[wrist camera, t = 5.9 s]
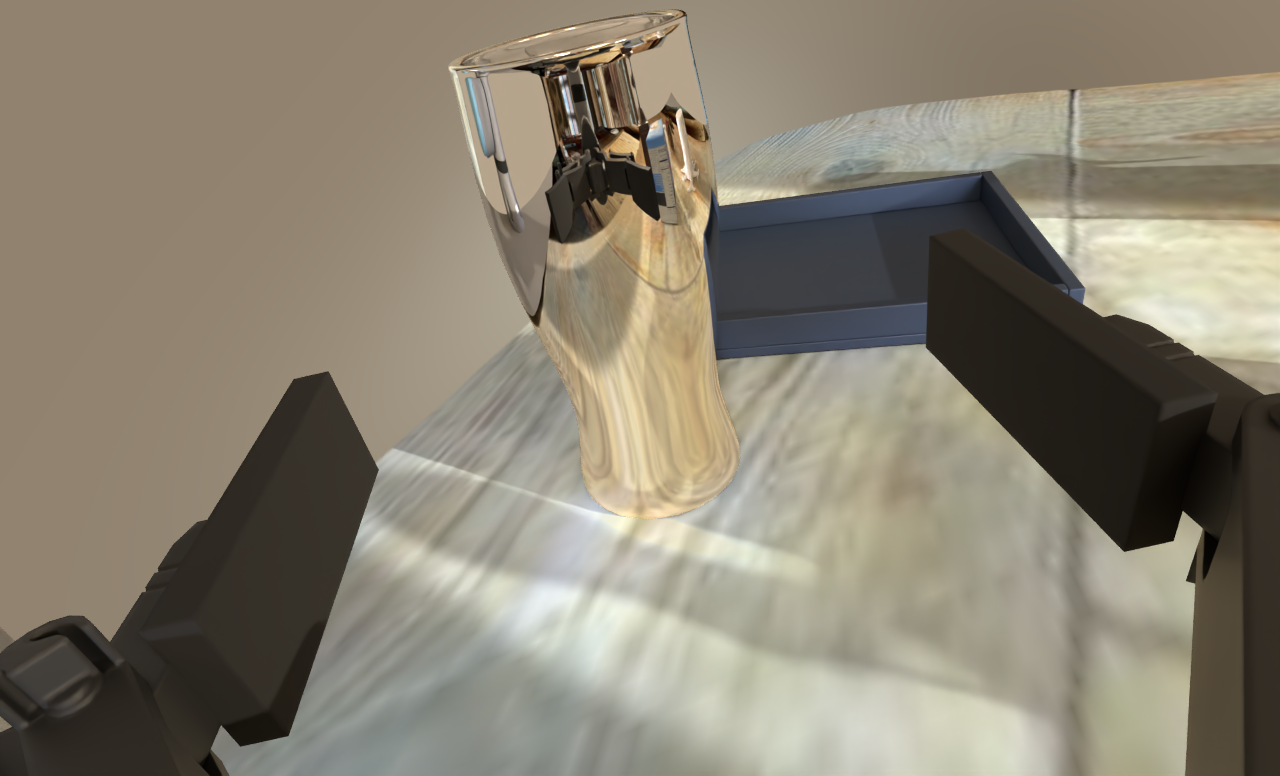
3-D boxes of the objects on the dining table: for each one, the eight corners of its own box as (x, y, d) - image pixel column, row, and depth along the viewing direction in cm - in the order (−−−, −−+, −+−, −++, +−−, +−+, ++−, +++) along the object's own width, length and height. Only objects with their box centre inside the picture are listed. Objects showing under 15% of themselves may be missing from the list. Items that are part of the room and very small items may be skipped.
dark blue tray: (670, 363, 33) (663, 326, 32) (700, 238, 45) (695, 208, 44) (1078, 331, 29) (1086, 288, 28) (989, 203, 41) (991, 170, 40)
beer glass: (737, 398, 29) (682, -1, 21) (769, 511, 24) (709, 20, 16) (576, 427, 30) (464, 47, 22) (568, 544, 24) (411, 85, 16)
